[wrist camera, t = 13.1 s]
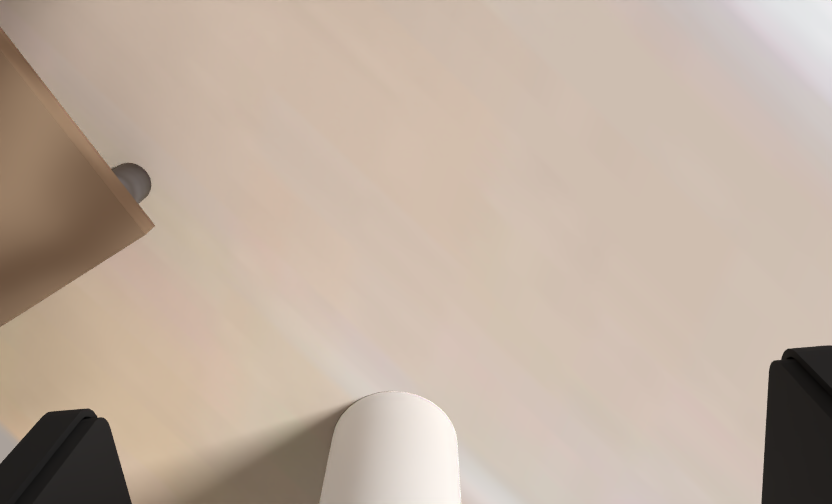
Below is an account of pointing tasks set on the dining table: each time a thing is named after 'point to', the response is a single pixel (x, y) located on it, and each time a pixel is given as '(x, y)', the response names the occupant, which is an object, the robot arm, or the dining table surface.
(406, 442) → the cylindrical container
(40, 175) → the walnut shelf
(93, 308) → the dining table surface
